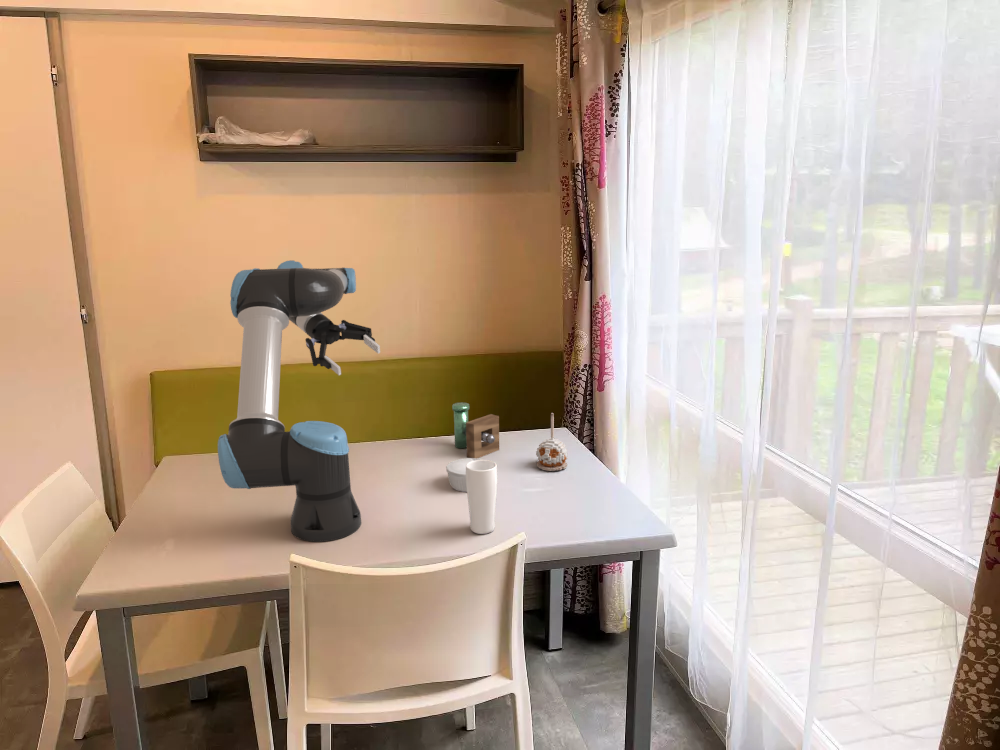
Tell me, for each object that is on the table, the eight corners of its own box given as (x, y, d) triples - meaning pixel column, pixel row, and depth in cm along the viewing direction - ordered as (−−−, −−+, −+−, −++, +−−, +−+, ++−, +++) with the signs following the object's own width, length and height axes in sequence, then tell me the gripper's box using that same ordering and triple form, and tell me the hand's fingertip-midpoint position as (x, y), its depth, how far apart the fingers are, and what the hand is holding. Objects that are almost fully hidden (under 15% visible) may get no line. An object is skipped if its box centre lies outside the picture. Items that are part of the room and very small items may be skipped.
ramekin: (500, 483, 185) (500, 463, 184) (472, 498, 176) (472, 477, 175) (466, 473, 191) (465, 454, 190) (438, 487, 183) (437, 467, 182)
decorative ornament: (532, 469, 193) (532, 415, 190) (544, 460, 200) (544, 407, 196) (559, 474, 190) (560, 419, 186) (571, 464, 196) (571, 411, 193)
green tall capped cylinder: (450, 445, 211) (448, 405, 208) (461, 441, 214) (460, 401, 211) (487, 458, 201) (487, 415, 198) (499, 453, 204) (499, 411, 201)
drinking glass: (488, 539, 155) (487, 473, 152) (461, 532, 159) (459, 467, 155) (503, 526, 161) (502, 462, 157) (477, 520, 164) (475, 457, 161)
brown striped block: (466, 456, 203) (466, 422, 200) (491, 447, 210) (491, 414, 208) (474, 459, 201) (473, 424, 199) (499, 449, 208) (498, 416, 206)
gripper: (350, 316, 225) (395, 350, 215) (280, 352, 212) (324, 390, 201) (348, 297, 220) (393, 330, 210) (276, 332, 207) (320, 370, 196)
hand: (359, 360), depth 205 cm, fingers open, 13 cm apart
